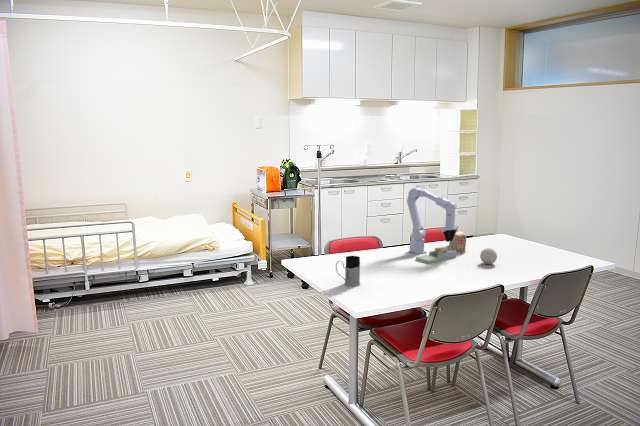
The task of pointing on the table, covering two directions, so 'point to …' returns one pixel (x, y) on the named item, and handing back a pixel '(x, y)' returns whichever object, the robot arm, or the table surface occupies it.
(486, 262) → the eye model
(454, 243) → the stack of blocks
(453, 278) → the table surface
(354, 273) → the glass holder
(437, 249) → the maple block
